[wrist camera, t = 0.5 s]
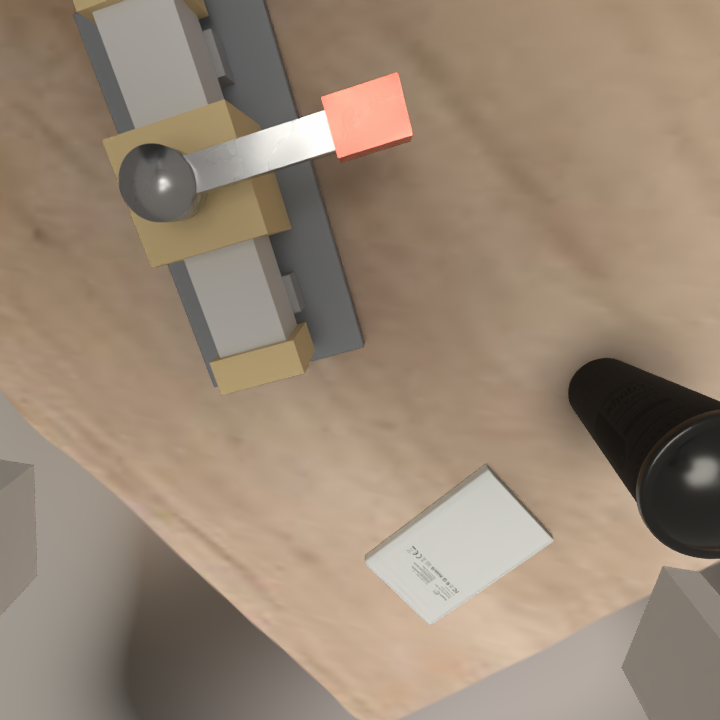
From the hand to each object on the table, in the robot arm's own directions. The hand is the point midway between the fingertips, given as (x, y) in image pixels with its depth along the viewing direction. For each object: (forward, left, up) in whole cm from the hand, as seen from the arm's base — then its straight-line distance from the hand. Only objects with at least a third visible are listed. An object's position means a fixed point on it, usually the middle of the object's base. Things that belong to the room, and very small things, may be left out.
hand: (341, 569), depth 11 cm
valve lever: (-11, -1, -17) cm, 20 cm away
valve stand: (-11, -6, -26) cm, 29 cm away
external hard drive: (+19, +2, -27) cm, 33 cm away
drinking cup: (+9, +15, -26) cm, 32 cm away
